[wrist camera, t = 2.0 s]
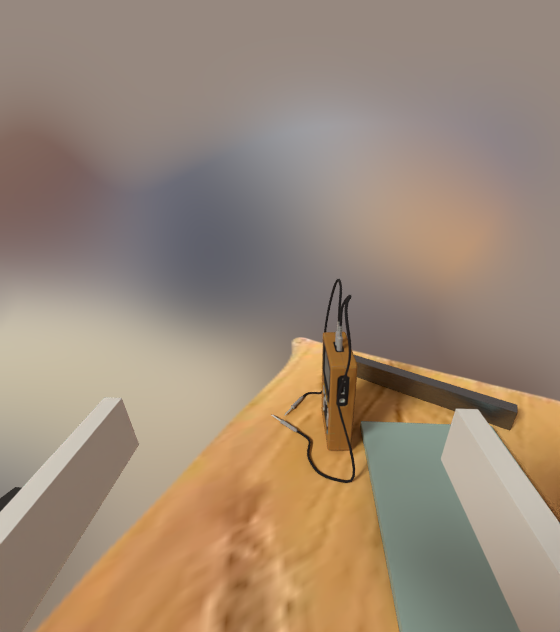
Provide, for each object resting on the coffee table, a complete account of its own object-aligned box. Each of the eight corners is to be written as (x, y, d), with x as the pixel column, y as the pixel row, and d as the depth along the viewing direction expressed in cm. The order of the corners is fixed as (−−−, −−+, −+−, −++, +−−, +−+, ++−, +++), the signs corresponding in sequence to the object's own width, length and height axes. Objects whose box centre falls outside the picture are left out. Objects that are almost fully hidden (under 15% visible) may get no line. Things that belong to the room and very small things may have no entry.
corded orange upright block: (272, 393, 45) (262, 270, 36) (336, 392, 45) (342, 267, 36) (267, 485, 32) (249, 327, 23) (358, 483, 31) (375, 322, 23)
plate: (489, 431, 37) (491, 426, 36) (657, 678, 19) (665, 673, 18) (360, 426, 38) (360, 421, 38) (402, 647, 21) (404, 642, 20)
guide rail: (509, 422, 38) (517, 404, 36) (509, 430, 37) (517, 412, 35) (351, 368, 49) (352, 354, 48) (347, 373, 48) (348, 359, 47)
